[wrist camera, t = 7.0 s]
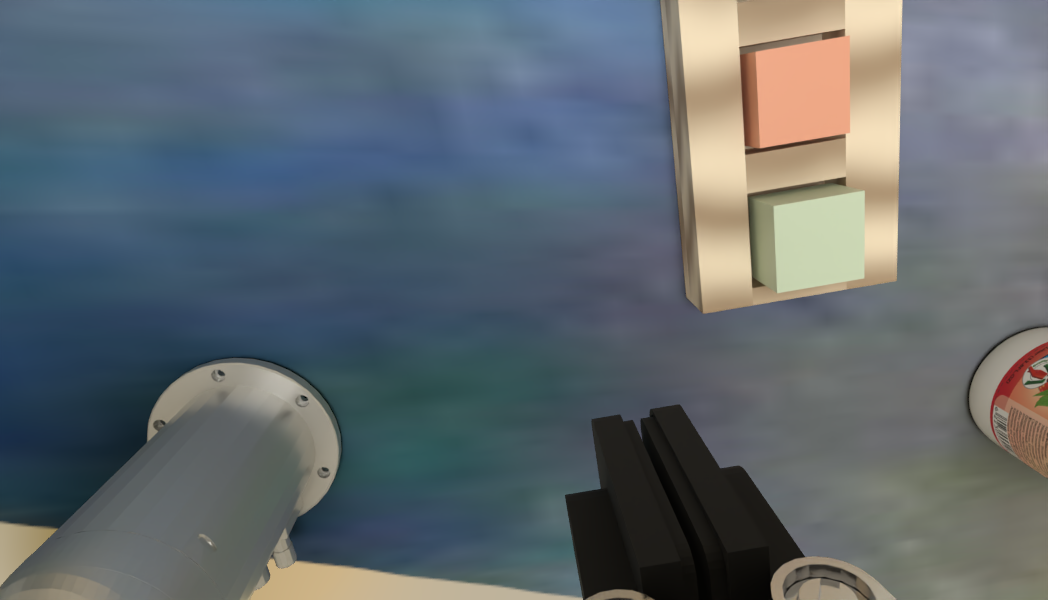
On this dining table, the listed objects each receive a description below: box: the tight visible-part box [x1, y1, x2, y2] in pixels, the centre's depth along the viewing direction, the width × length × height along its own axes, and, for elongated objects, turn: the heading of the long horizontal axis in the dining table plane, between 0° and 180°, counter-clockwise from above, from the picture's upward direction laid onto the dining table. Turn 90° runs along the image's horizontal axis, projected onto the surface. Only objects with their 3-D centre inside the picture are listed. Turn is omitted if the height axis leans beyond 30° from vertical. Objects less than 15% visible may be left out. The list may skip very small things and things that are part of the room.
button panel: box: [660, 0, 902, 314], centre depth 36 cm, size 24×12×4 cm, turn 9°
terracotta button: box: [740, 36, 850, 148], centre depth 35 cm, size 5×5×4 cm
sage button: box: [748, 183, 865, 293], centre depth 36 cm, size 5×5×4 cm
